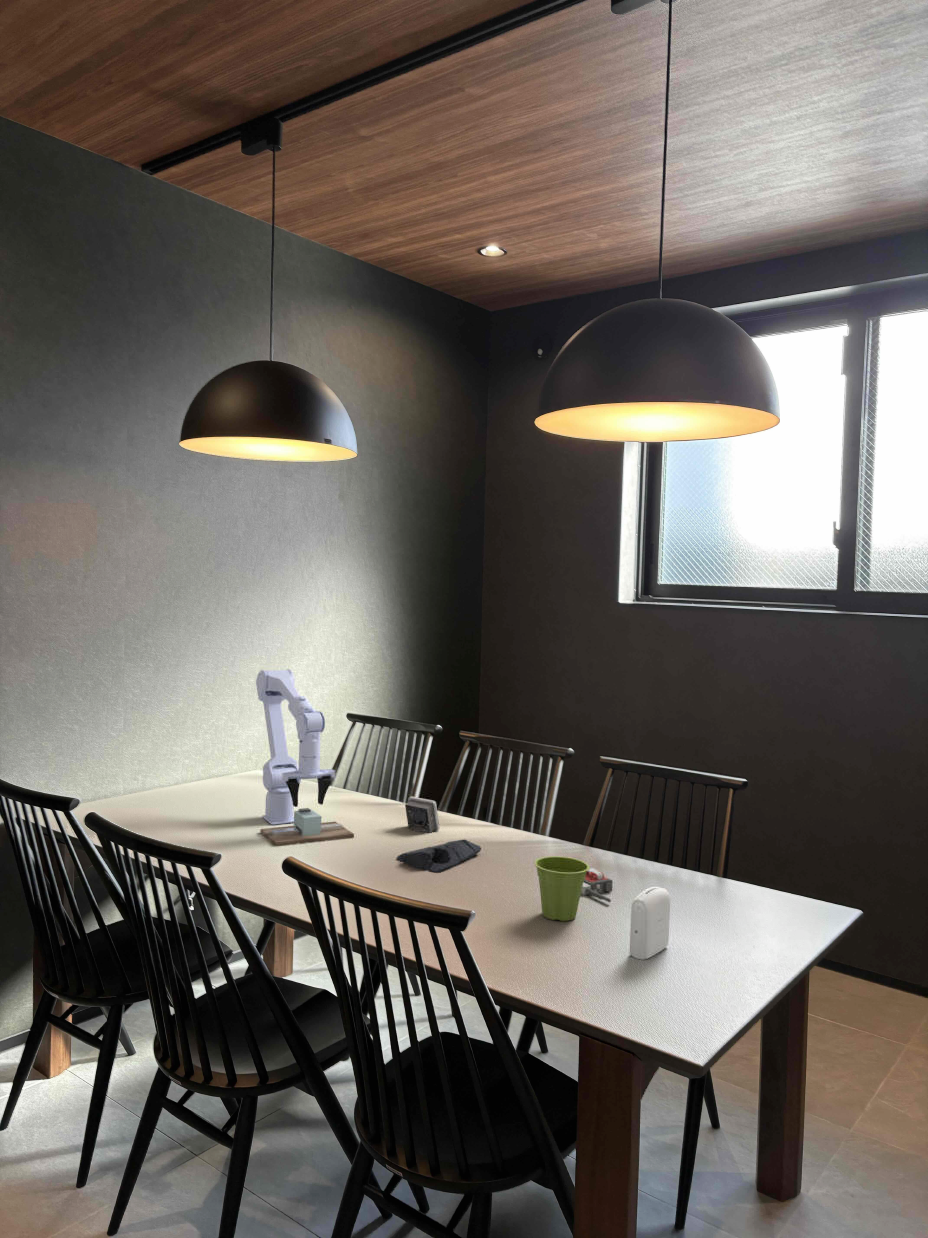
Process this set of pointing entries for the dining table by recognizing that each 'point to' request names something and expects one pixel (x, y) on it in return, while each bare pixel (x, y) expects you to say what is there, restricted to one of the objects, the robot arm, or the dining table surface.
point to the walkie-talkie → (596, 884)
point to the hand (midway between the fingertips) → (307, 805)
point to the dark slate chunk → (440, 855)
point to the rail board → (294, 836)
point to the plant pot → (560, 885)
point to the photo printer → (649, 923)
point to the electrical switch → (422, 814)
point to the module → (307, 822)
